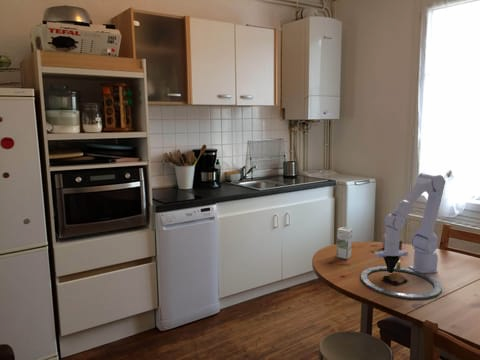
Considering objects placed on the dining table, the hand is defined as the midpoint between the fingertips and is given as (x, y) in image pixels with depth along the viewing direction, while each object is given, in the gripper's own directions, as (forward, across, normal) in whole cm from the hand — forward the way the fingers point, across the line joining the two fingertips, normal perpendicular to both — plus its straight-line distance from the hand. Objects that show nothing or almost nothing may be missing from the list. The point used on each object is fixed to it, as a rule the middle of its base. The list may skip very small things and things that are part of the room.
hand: (389, 272), depth 172 cm
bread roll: (+2, +1, +5) cm, 6 cm away
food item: (+2, -18, -28) cm, 34 cm away
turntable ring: (+1, -1, +6) cm, 6 cm away
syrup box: (+2, +10, -24) cm, 27 cm away
